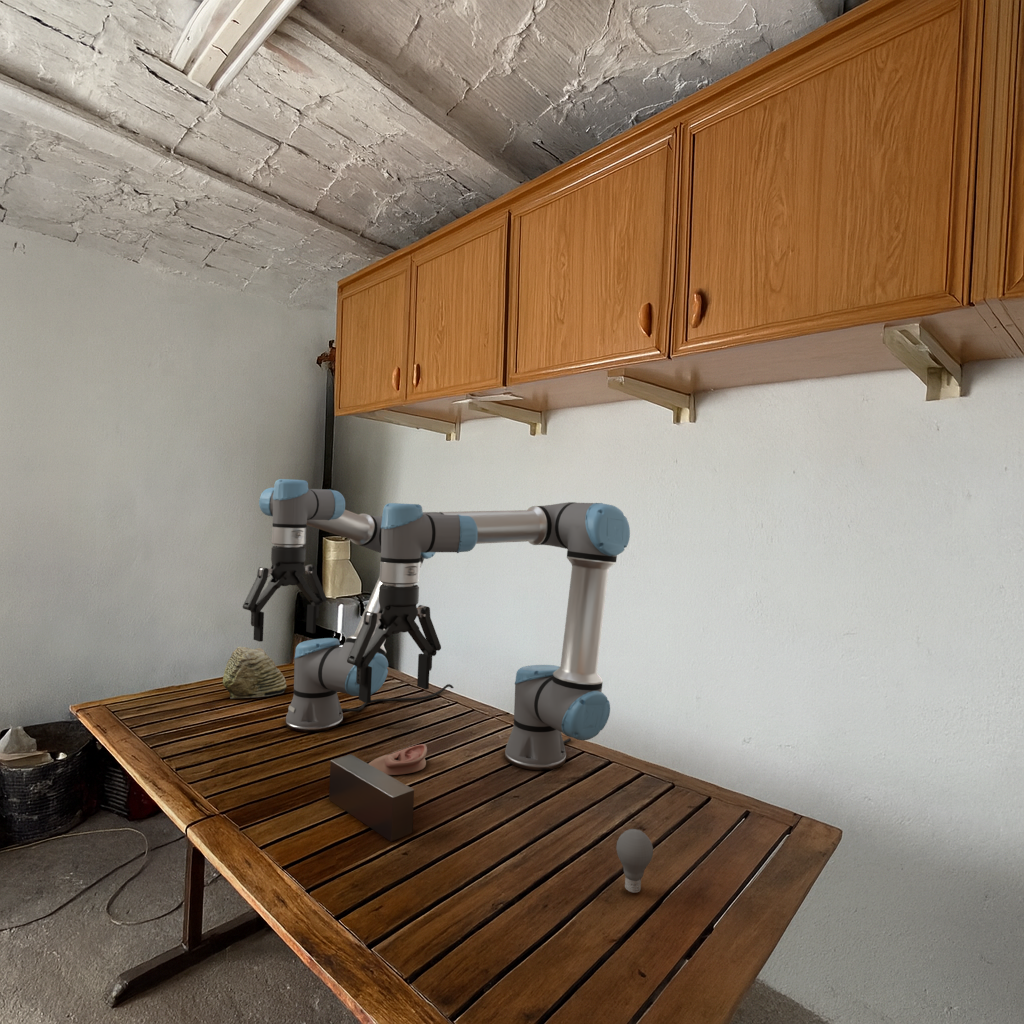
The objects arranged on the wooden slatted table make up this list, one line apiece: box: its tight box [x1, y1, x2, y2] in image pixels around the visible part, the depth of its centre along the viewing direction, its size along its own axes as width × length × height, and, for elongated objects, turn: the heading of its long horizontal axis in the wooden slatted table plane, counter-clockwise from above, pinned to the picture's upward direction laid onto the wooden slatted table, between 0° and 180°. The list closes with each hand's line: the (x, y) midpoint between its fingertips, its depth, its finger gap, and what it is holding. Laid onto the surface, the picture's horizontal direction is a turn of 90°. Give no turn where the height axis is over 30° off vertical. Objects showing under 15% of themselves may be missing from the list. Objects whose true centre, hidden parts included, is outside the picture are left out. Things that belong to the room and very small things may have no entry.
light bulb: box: [615, 828, 654, 894], centre depth 106 cm, size 6×6×10 cm
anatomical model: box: [367, 743, 428, 776], centre depth 150 cm, size 13×4×12 cm
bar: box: [328, 753, 415, 843], centre depth 127 cm, size 22×5×8 cm, turn 47°
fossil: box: [222, 646, 288, 699], centre depth 198 cm, size 9×18×15 cm, turn 132°
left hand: (285, 636), depth 148 cm, fingers open, 13 cm apart
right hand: (394, 694), depth 121 cm, fingers open, 13 cm apart
